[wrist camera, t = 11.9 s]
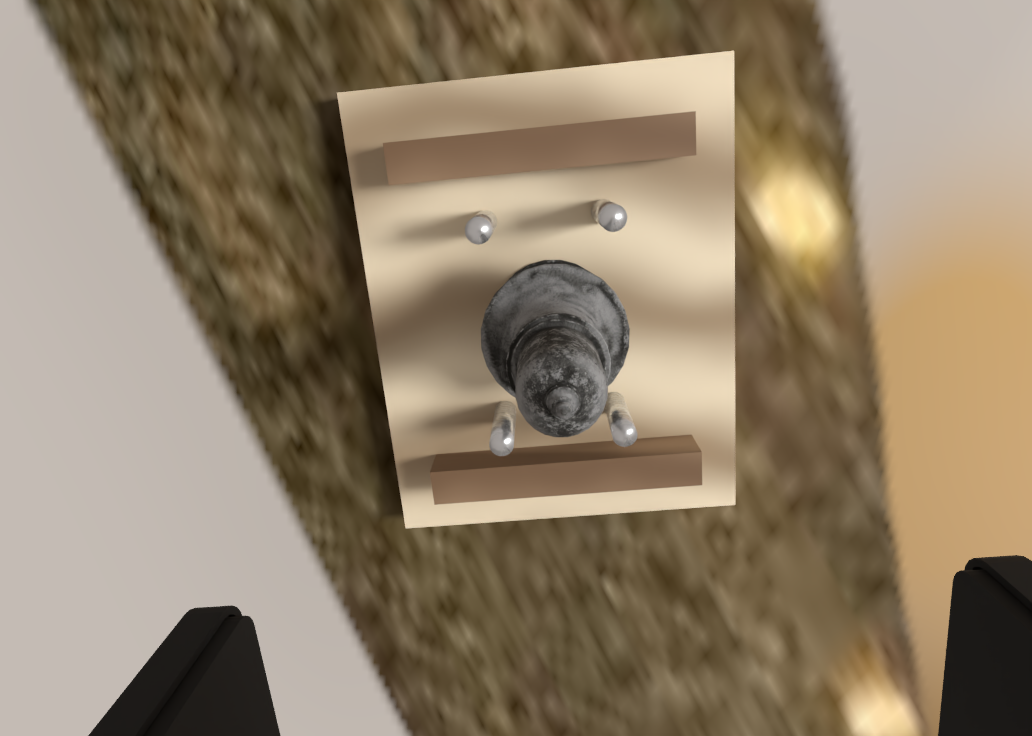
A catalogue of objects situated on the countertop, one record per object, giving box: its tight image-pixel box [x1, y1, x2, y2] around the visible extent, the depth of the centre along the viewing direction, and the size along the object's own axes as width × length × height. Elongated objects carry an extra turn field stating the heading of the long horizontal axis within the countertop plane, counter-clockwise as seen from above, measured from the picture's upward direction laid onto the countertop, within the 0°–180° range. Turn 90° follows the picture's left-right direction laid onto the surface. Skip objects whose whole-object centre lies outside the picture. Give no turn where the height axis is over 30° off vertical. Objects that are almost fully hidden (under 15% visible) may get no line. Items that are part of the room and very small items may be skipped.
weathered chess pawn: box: [481, 260, 630, 437], centre depth 24 cm, size 6×6×12 cm
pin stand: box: [337, 51, 735, 528], centre depth 29 cm, size 20×16×6 cm
